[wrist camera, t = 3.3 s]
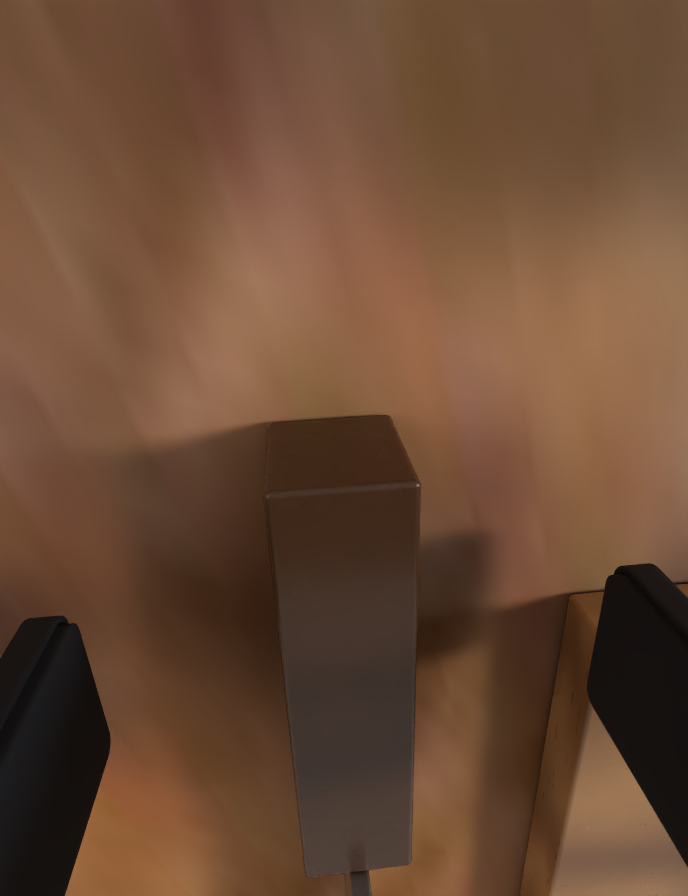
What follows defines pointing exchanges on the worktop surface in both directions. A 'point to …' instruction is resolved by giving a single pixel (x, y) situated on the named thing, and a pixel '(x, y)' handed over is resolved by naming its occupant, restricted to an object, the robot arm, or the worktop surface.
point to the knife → (347, 635)
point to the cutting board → (592, 794)
